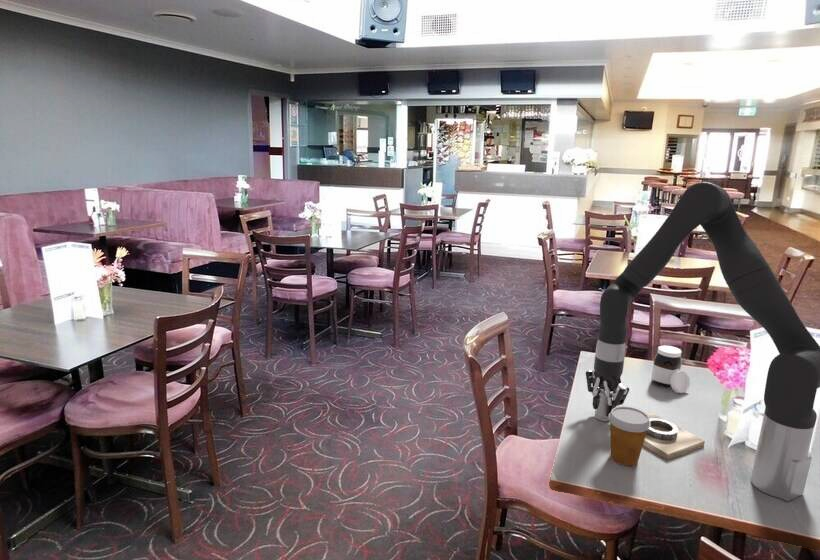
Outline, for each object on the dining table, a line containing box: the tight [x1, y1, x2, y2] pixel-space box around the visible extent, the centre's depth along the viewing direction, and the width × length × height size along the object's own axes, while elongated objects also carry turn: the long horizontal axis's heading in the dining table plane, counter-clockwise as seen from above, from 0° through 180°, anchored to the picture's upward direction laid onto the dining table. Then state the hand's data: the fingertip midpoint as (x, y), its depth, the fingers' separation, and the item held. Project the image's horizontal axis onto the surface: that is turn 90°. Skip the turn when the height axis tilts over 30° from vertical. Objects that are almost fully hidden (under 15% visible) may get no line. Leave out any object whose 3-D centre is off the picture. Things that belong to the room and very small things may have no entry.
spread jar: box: [651, 345, 691, 394], centre depth 172 cm, size 12×11×12 cm
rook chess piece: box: [593, 390, 610, 422], centre depth 151 cm, size 4×4×8 cm
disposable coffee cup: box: [608, 405, 651, 467], centre depth 131 cm, size 10×10×12 cm
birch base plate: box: [643, 412, 706, 461], centre depth 142 cm, size 16×14×2 cm
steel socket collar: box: [646, 418, 678, 441], centre depth 142 cm, size 8×8×2 cm
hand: (603, 412), depth 151 cm, fingers closed on rook chess piece, 4 cm apart
